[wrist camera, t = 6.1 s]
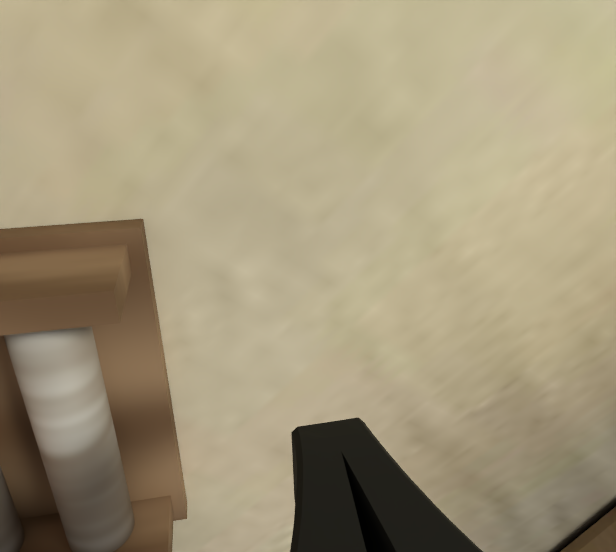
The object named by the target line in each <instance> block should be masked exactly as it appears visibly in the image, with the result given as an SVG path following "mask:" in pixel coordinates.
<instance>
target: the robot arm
mask: <svg viewBox="0 0 616 552" xmlns="http://www.w3.org/2000/svg"><path fill="white" fill-rule="evenodd" d="M292 452H293V474H294V496H295V517H294V528H293V536H292V543H291V550H290V552H483V551H482V550H480V549H479V548H478V547H477V546H476V545H475V544H474V543H473V542H472V541H471V540H470V539H469V538H468V537H467V536H466V535H465V534H464V533H462V532H461V531H460V530H459V529H458V528H457V527H456V526H455V525H454V524H453V523H452V522H451V521H450V520H449V519H448V518H447V517H446V516H445V515H444V514H443V513H442V512H441V511H440V510H439V509H438V508H437V507H436V506H435V505H434V504H433V502H432V501H431V500H430V499H429V498H428V497H427V496H426V495H425V494H424V493H423V492H422V491H421V490H420V489H419V487H418V486H417V485H416V484H415V483H414V482H413V481H412V480H411V479H410V478H409V477H408V475H407V474H406V473H405V472H404V471H403V470H402V469H401V467H400V466H399V465H398V464H397V463H396V462H395V460H394V459H393V458H392V457H391V456H390V455H389V453H388V452H387V451H386V450H385V449H384V447H383V446H382V445H381V444H380V442H379V441H378V440H377V439H376V437H375V436H374V435H373V434H372V432H371V431H370V430H369V428H368V427H367V426H366V424H365V423H364V422H363V421H362V420H361V419H359V418H353V419H346V420H340V421H333V422H327V423H320V424H313V425H307V426H300V427H297V428H296V429H295V430H294V431H293V432H292Z"/></svg>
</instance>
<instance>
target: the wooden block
mask: <svg viewBox="0 0 616 552" xmlns="http://www.w3.org/2000/svg"><path fill="white" fill-rule="evenodd" d="M560 552H616V507H615V508H613V509H612V510H611V511H610V512H608V513H607V514H606V515H605V516H604V517H602V518H601V519H600V520H599V521H597V522H596V523H595V524H594V525H592V526H591V527H590V528H589V529H588V530H586V531H585V532H584V533H583V534H581V535H580V536H579V537H578V538H576V539H575V540H574V541H573V542H572V543H570V544H569V545H568V546H567V547H565V548H564V549H563V550H562V551H560Z"/></svg>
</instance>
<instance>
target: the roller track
mask: <svg viewBox="0 0 616 552" xmlns="http://www.w3.org/2000/svg"><path fill="white" fill-rule="evenodd" d="M181 519H187V499H186V493H185V486H184V480H183V473H182V467H181V461H180V454H179V448H178V441H177V435H176V428H175V422H174V415H173V409H172V403H171V396H170V390H169V383H168V377H167V370H166V364H165V358H164V351H163V345H162V338H161V332H160V325H159V319H158V312H157V306H156V300H155V293H154V287H153V280H152V274H151V267H150V261H149V254H148V248H147V242H146V235H145V229H144V222H143V219H135V220H121V221H107V222H94V223H80V224H66V225H52V226H38V227H24V228H10V229H0V552H172V539H173V521H175V520H181Z"/></svg>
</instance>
